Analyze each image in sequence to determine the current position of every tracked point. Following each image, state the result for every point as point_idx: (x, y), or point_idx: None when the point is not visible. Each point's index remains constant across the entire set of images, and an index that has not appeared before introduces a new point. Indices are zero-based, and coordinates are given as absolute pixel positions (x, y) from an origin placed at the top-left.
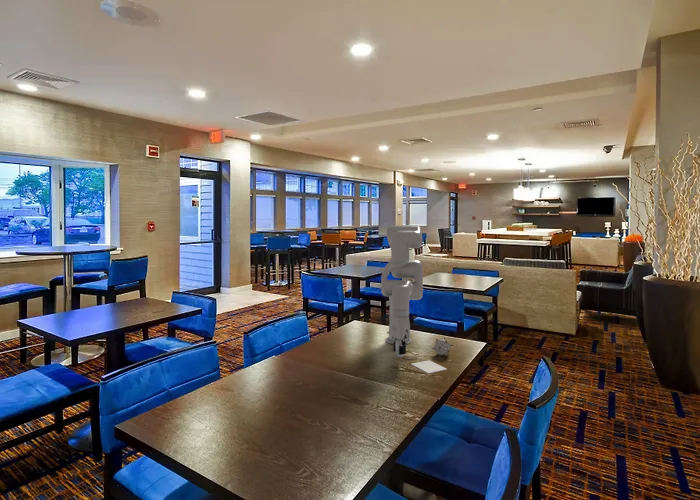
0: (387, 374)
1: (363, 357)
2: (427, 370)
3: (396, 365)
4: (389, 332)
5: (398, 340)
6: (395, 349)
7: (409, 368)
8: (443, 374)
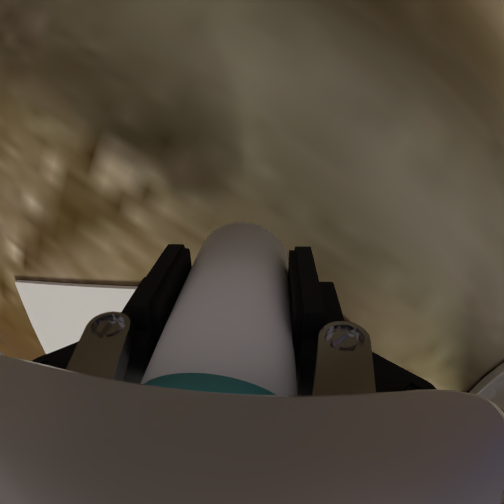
0: (66, 18)
1: (492, 55)
2: (44, 302)
3: (200, 173)
4: (490, 428)
5: (153, 377)
6: (261, 261)
7: (105, 232)
8: (12, 330)
